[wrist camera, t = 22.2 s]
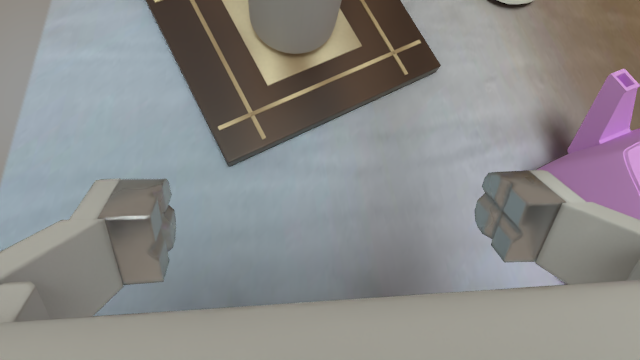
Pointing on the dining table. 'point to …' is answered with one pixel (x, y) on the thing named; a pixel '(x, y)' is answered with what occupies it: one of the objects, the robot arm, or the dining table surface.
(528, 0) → the dessert
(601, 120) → the teapot
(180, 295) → the dining table surface
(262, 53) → the board
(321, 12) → the beverage can
